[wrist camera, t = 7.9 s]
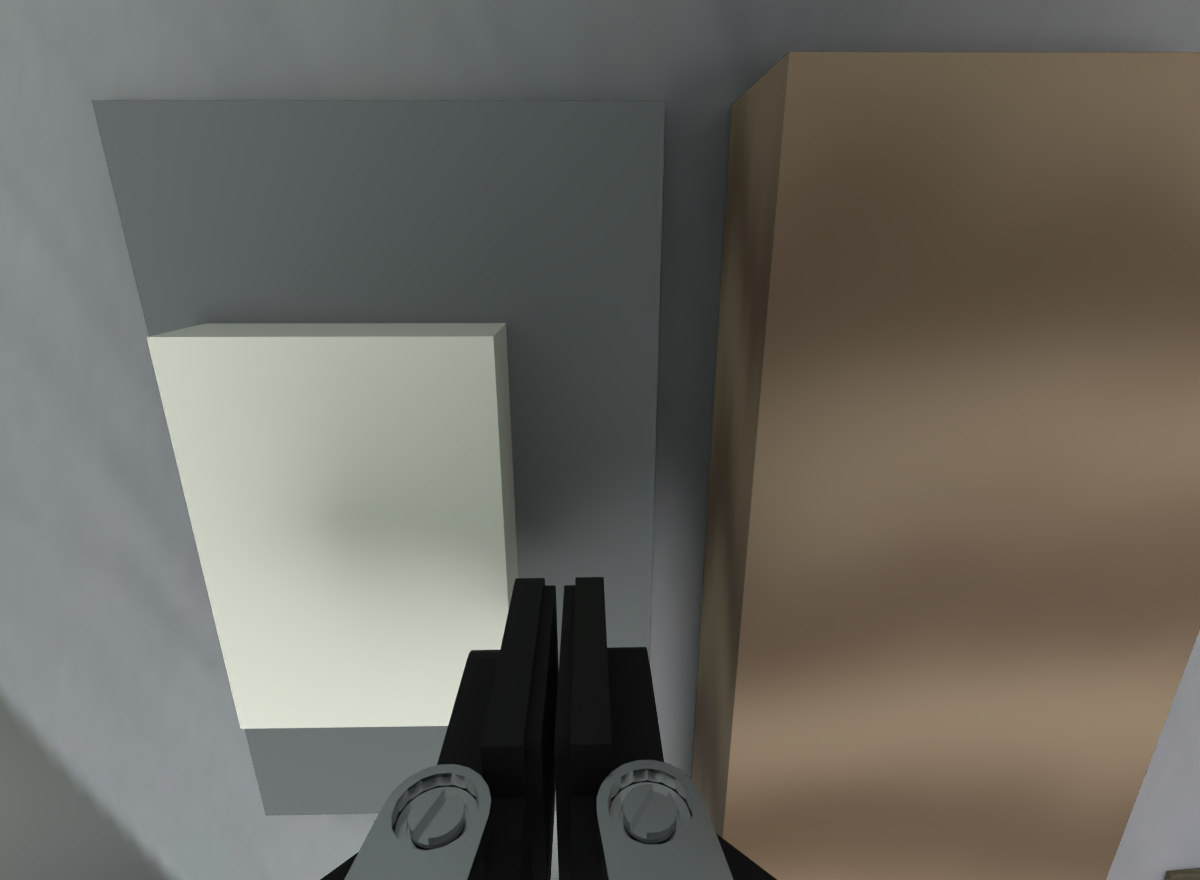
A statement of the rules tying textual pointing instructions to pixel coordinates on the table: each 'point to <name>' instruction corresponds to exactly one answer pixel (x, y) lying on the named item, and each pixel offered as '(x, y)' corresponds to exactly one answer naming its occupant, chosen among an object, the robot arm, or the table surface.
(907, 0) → the table surface
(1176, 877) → the picture frame
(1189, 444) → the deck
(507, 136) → the mat
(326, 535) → the cream white slab
